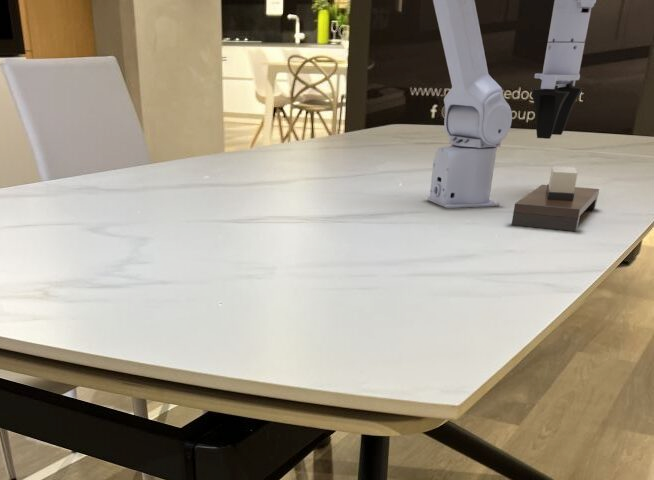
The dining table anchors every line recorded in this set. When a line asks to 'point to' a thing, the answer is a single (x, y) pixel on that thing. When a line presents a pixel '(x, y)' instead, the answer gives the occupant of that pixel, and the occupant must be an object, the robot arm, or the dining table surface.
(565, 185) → the beige cube on base
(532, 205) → the low wooden riser
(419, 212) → the dining table surface
